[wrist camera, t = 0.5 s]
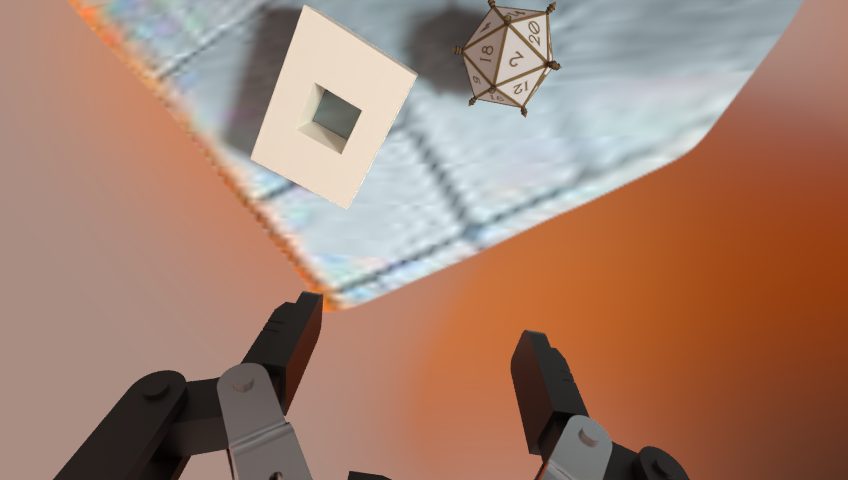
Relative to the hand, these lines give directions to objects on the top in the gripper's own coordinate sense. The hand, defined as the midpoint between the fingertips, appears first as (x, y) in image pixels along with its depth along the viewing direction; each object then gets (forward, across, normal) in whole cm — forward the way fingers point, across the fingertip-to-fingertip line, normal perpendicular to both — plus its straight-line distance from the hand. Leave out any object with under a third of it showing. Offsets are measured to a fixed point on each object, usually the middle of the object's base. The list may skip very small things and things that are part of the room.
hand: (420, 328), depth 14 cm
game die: (+27, -5, -10) cm, 29 cm away
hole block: (+27, +10, -2) cm, 28 cm away
